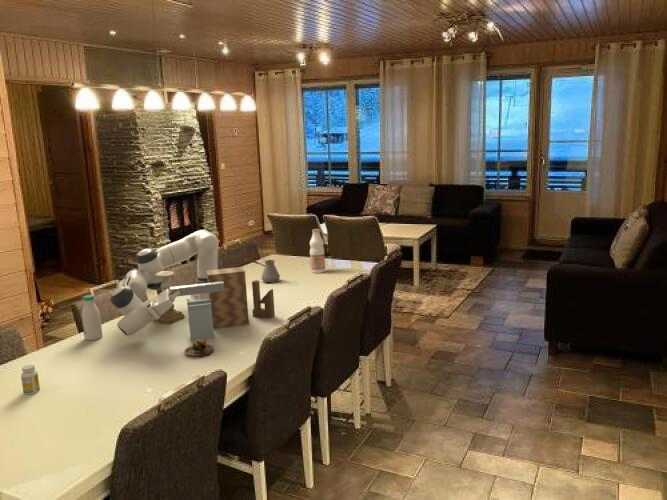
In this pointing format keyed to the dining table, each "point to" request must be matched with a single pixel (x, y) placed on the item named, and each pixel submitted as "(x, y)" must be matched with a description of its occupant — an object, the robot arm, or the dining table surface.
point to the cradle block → (200, 319)
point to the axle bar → (198, 288)
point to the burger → (199, 349)
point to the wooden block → (262, 302)
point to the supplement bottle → (30, 380)
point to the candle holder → (173, 314)
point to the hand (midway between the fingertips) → (179, 290)
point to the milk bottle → (91, 319)
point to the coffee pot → (268, 271)
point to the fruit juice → (317, 253)
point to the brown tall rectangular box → (229, 298)
